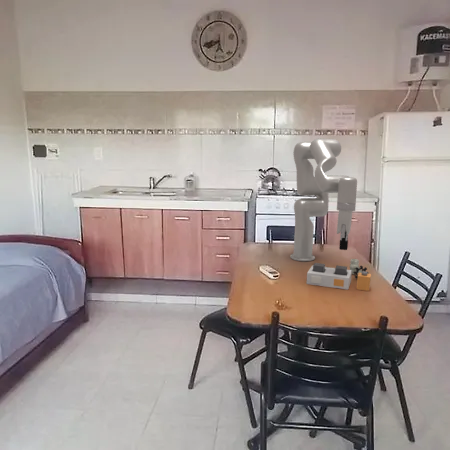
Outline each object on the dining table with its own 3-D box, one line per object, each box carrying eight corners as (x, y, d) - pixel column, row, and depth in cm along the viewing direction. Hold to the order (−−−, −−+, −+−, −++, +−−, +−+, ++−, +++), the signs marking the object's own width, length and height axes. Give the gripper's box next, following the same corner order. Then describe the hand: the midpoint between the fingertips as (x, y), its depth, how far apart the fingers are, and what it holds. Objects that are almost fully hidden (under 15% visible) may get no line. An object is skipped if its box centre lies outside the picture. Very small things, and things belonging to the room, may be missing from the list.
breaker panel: (311, 275, 199) (312, 265, 198) (351, 281, 193) (351, 270, 192) (306, 284, 188) (307, 273, 186) (348, 289, 181) (349, 278, 180)
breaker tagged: (336, 275, 191) (336, 265, 190) (346, 276, 189) (347, 266, 188) (334, 278, 187) (335, 268, 186) (345, 279, 185) (346, 269, 184)
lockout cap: (357, 285, 187) (359, 269, 185) (369, 287, 185) (371, 271, 184) (356, 289, 182) (358, 273, 181) (369, 291, 181) (370, 274, 179)
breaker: (314, 272, 194) (314, 262, 193) (324, 273, 192) (325, 264, 192) (312, 275, 190) (313, 265, 189) (322, 276, 188) (323, 266, 187)
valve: (345, 271, 206) (353, 280, 194) (346, 258, 205) (354, 266, 193) (359, 272, 206) (367, 280, 194) (360, 258, 205) (369, 266, 193)
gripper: (339, 204, 190) (336, 245, 193) (334, 208, 176) (331, 252, 179) (356, 205, 187) (354, 246, 190) (353, 209, 173) (350, 254, 177)
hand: (343, 249), depth 185 cm, fingers closed
